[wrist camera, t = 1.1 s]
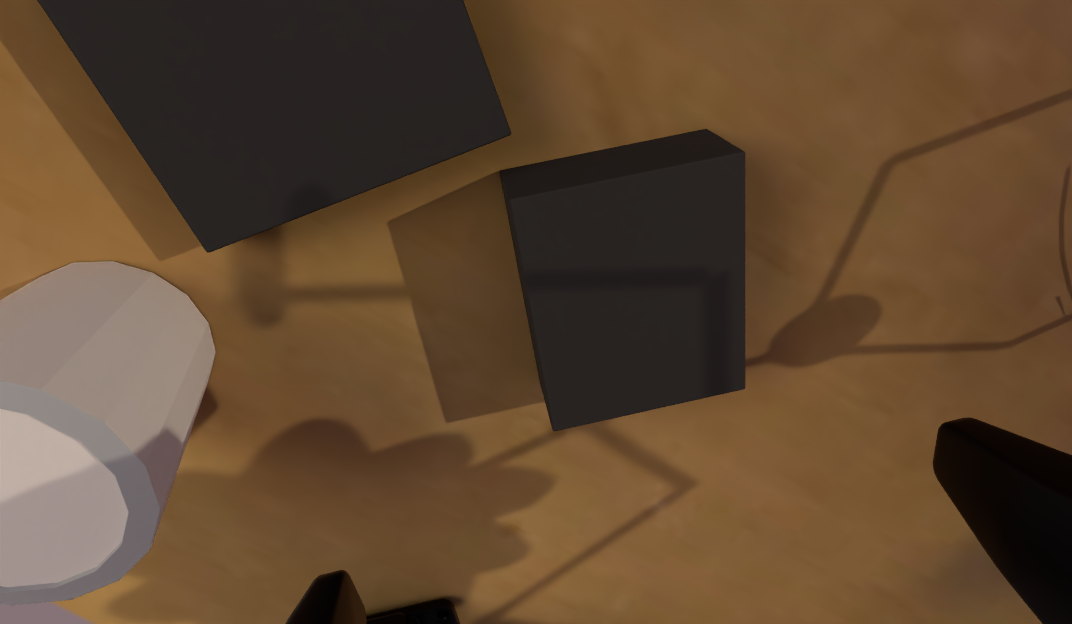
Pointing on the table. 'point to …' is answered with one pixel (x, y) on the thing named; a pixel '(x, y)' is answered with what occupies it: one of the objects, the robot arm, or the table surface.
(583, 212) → the black pad
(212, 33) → the base pad
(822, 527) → the table surface
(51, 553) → the shot glass
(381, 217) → the table surface
